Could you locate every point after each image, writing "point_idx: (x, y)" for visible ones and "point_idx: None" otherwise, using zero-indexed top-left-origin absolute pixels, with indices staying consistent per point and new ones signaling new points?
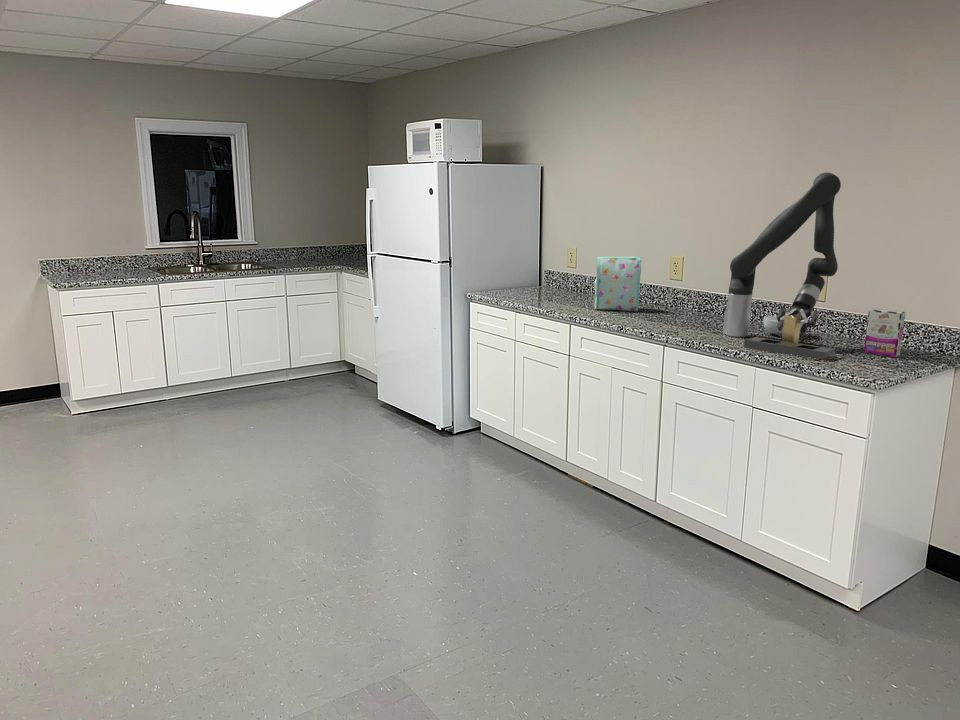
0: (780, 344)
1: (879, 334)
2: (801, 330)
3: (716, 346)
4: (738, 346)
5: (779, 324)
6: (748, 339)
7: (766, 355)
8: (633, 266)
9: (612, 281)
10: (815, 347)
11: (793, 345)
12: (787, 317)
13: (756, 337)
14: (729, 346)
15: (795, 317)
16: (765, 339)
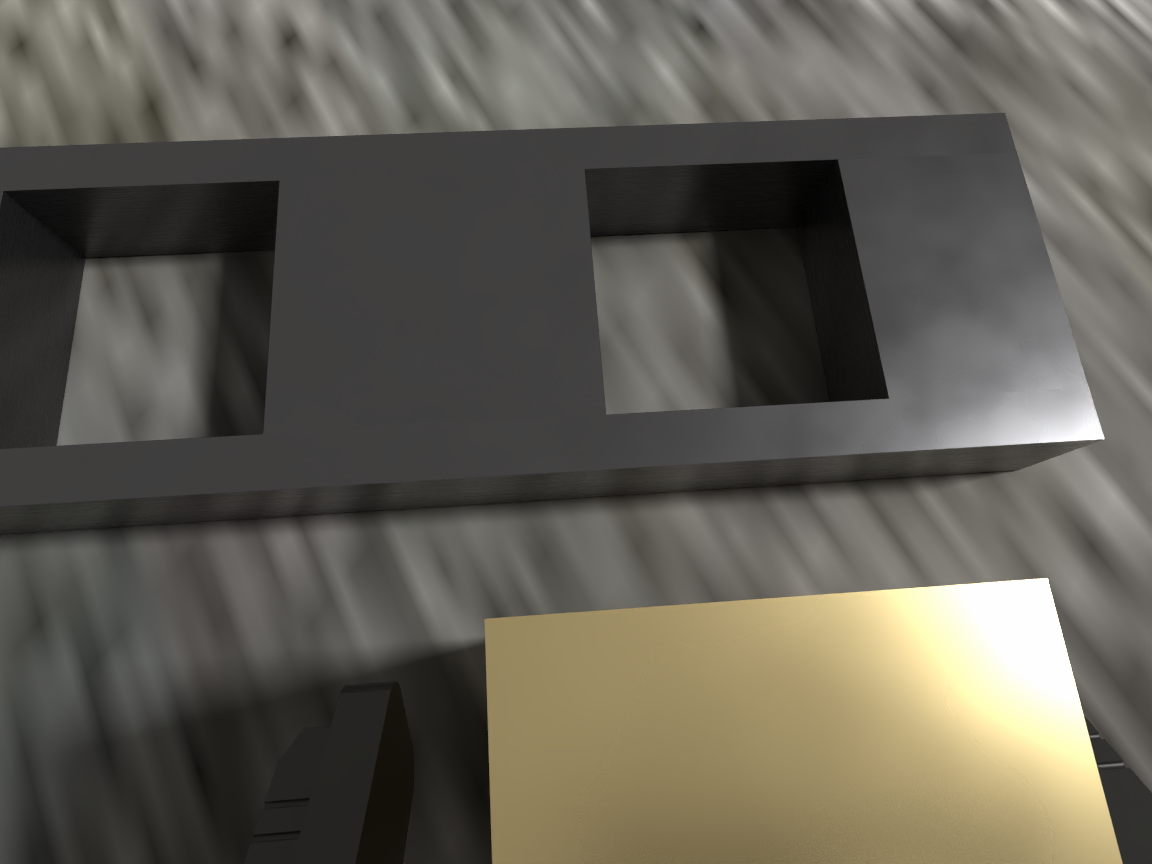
0: (505, 181)
1: None
2: (354, 689)
3: (1116, 13)
4: None
5: None
6: (989, 160)
7: (519, 7)
8: None
9: None
10: (50, 450)
11: (341, 258)
12: (877, 596)
13: (1067, 405)
14: (1060, 114)
15: (519, 624)
16: (882, 374)
